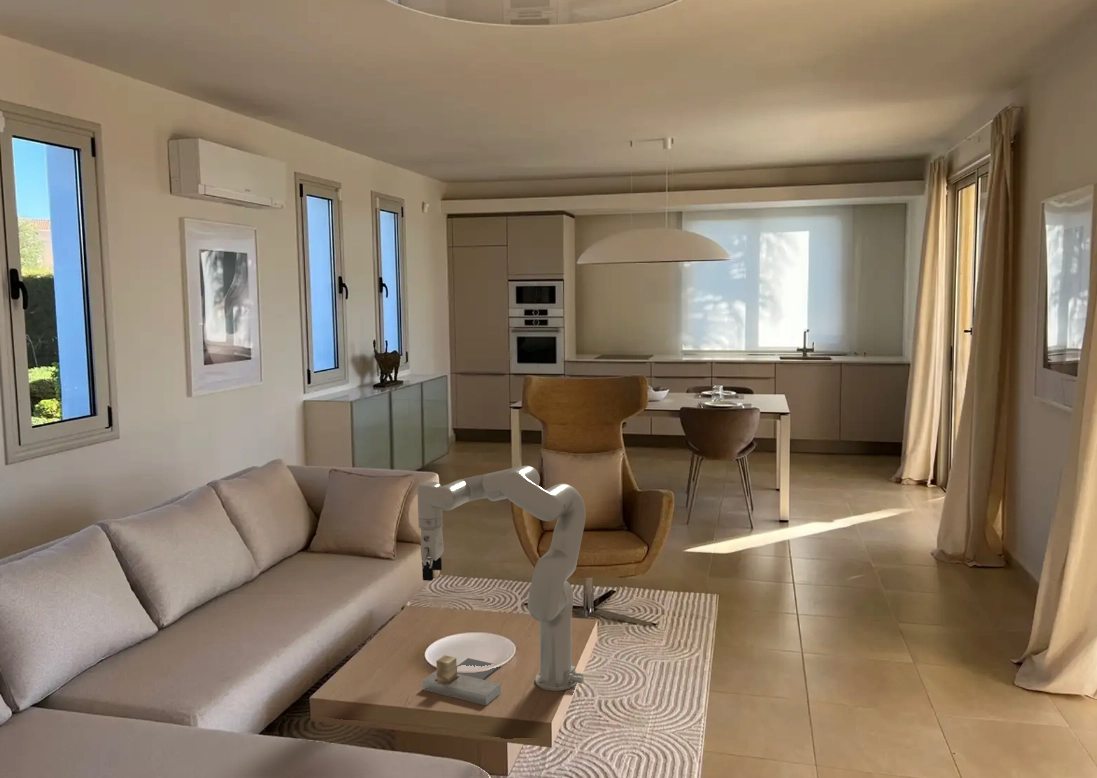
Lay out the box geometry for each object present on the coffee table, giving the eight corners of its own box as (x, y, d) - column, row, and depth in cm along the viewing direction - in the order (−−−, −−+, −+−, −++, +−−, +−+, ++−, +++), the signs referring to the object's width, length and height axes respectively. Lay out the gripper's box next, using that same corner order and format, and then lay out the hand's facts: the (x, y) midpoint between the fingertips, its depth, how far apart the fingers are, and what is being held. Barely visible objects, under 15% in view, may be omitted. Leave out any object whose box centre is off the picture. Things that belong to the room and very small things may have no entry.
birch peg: (457, 686, 249) (456, 657, 248) (449, 692, 246) (448, 663, 245) (445, 683, 251) (444, 655, 250) (437, 689, 248) (436, 660, 247)
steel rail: (500, 693, 245) (500, 683, 244) (486, 705, 238) (486, 695, 237) (438, 678, 255) (438, 669, 255) (422, 689, 248) (422, 680, 248)
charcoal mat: (500, 667, 262) (500, 665, 262) (480, 683, 252) (479, 681, 251) (468, 659, 268) (468, 658, 268) (446, 675, 257) (446, 673, 257)
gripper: (434, 529, 253) (436, 584, 255) (449, 514, 270) (451, 566, 272) (410, 529, 254) (412, 584, 256) (426, 514, 271) (428, 565, 273)
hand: (432, 575), depth 264 cm, fingers open, 9 cm apart
